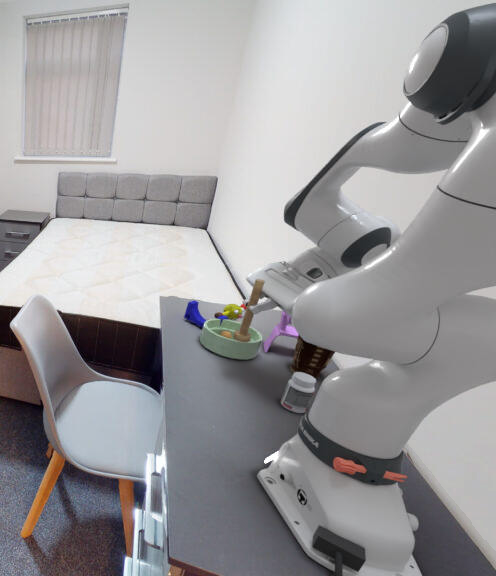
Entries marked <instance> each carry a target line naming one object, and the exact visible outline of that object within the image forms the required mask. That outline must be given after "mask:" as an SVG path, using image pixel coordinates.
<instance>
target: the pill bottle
mask: <svg viewBox="0 0 496 576" xmlns="http://www.w3.org/2000/svg"><path fill="white" fill-rule="evenodd" d="M316 383H317V379H315V378H314V377H312V376H311V375H308V374H306V373H302V372H295V373H294V372H293V374H292V376H291V378H290V379H289V380H288V382H287V384H286V387H285V390H284V392H283V394H282V397H281V400H280V404H281V406H283V408H285V409H286V410H288V411H291V412H293V413H297V414H305V413H306V411H308V407H309V406H310V403H311V401H312V398H313V396H314V394H315V391H316V387H315V385H316Z"/></svg>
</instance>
